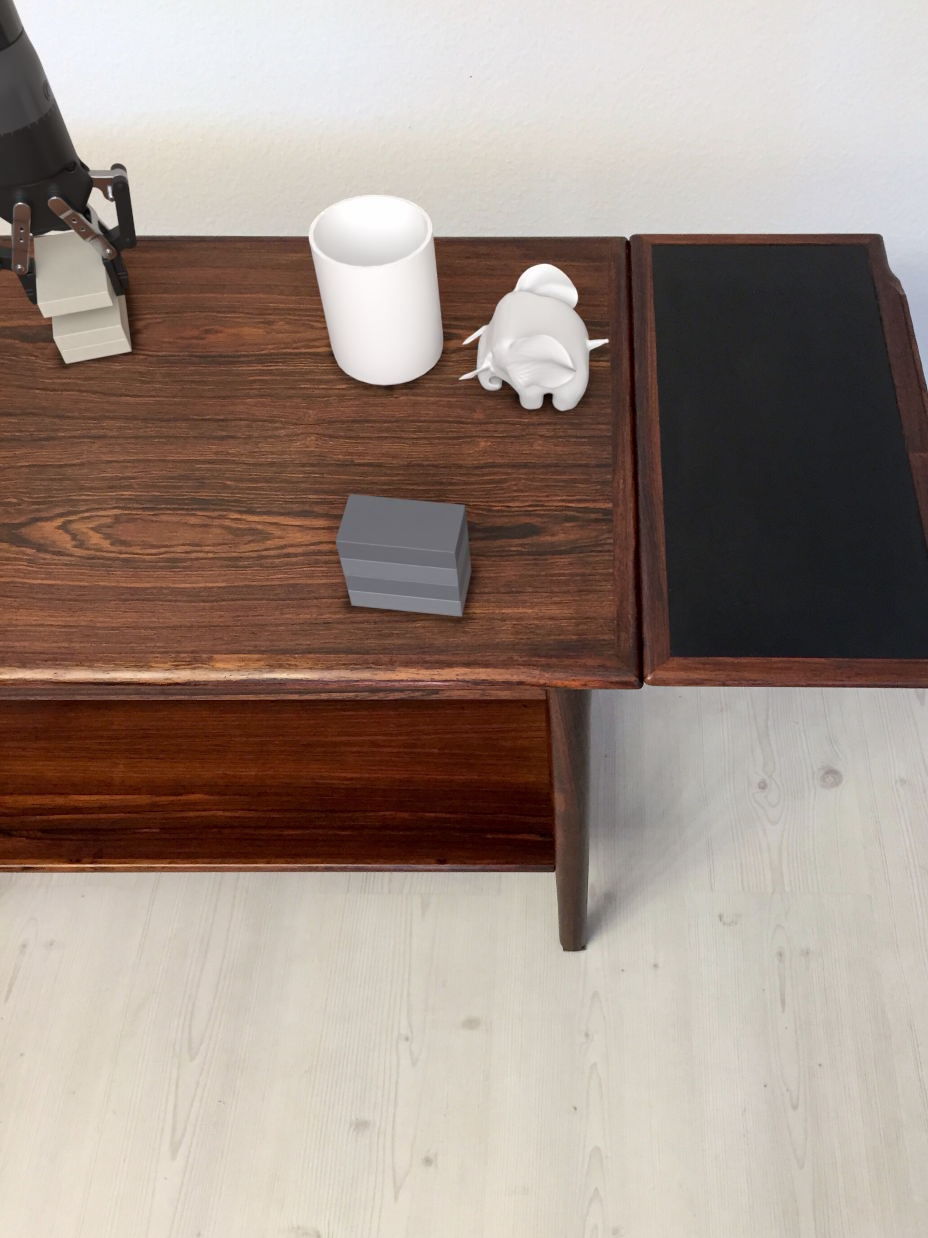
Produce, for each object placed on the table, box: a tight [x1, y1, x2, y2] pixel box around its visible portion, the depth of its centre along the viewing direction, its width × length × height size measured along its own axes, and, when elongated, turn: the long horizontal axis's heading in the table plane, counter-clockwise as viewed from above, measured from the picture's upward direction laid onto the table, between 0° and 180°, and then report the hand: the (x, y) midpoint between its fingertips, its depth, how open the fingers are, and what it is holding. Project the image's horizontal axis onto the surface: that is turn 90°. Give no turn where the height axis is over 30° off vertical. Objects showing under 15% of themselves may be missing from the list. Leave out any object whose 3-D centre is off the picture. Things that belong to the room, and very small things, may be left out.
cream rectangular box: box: [51, 285, 133, 365], centre depth 91 cm, size 9×6×3 cm, turn 17°
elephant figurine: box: [458, 263, 610, 412], centre depth 85 cm, size 10×12×9 cm
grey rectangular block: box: [335, 493, 472, 617], centre depth 73 cm, size 8×4×7 cm, turn 83°
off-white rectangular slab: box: [33, 230, 113, 319], centre depth 88 cm, size 9×6×1 cm, turn 17°
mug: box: [308, 193, 444, 386], centre depth 86 cm, size 10×12×12 cm
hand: (83, 296), depth 90 cm, fingers closed on off-white rectangular slab, 5 cm apart
